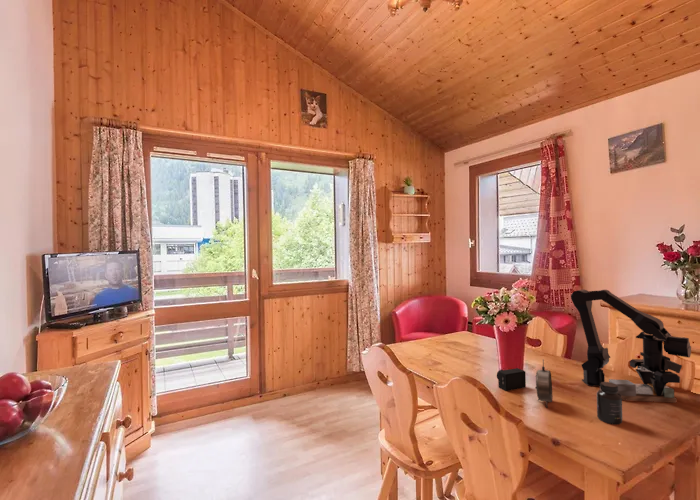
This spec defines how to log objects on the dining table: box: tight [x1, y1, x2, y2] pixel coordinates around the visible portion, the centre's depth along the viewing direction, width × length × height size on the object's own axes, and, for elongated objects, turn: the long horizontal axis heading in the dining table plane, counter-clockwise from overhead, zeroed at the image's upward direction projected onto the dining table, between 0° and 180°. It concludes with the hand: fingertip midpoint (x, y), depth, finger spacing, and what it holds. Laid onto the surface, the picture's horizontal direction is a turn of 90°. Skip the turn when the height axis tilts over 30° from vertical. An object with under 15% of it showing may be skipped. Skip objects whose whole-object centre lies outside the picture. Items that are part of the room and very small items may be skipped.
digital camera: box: [496, 367, 527, 392], centre depth 148 cm, size 10×5×7 cm, turn 109°
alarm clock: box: [535, 358, 553, 409], centre depth 132 cm, size 11×5×16 cm, turn 148°
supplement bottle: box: [596, 381, 623, 426], centre depth 118 cm, size 7×7×12 cm
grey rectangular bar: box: [634, 383, 671, 395], centre depth 134 cm, size 13×3×3 cm, turn 81°
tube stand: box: [608, 379, 678, 404], centre depth 134 cm, size 20×6×6 cm, turn 81°
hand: (653, 393), depth 134 cm, fingers open, 5 cm apart
